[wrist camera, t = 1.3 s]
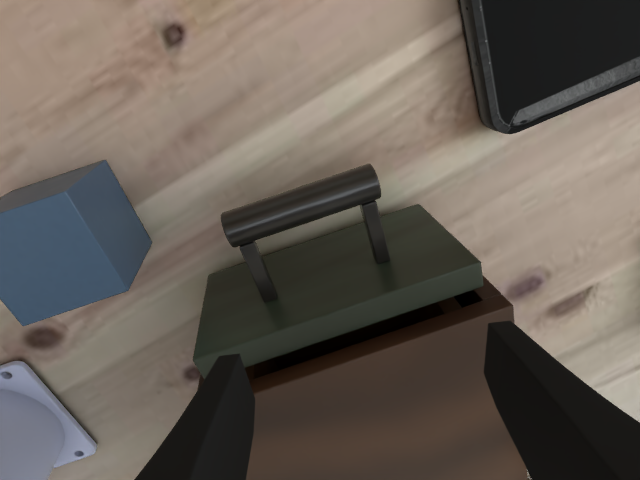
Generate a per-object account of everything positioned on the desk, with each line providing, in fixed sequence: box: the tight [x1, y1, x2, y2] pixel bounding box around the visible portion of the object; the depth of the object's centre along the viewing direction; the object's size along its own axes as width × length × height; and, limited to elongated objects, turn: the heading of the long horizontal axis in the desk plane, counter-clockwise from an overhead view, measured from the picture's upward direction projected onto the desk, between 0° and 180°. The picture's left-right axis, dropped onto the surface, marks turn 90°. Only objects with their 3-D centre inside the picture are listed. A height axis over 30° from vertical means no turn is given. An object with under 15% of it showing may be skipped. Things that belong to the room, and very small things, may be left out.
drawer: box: [193, 164, 483, 381], centre depth 20 cm, size 17×11×6 cm
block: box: [0, 160, 152, 326], centre depth 17 cm, size 4×4×4 cm
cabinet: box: [198, 275, 527, 480], centre depth 22 cm, size 14×13×8 cm
